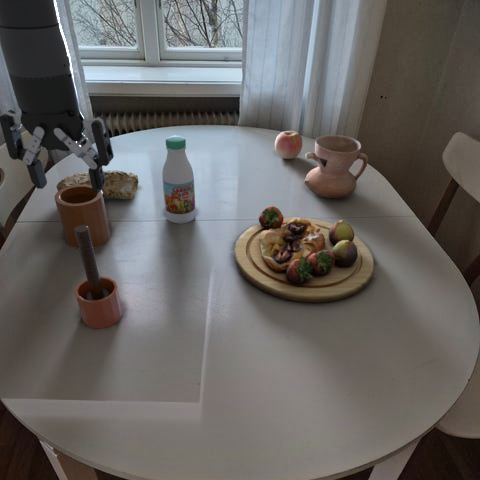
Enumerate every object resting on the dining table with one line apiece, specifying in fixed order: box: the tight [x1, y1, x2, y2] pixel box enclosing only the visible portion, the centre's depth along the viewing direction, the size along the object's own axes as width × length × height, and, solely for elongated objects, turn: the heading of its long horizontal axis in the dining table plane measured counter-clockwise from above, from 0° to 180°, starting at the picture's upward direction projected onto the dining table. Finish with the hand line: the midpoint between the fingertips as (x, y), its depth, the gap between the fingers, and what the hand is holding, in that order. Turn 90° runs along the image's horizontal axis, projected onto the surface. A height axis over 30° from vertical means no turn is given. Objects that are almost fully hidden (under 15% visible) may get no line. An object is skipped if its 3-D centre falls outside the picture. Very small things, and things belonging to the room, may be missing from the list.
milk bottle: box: [161, 135, 196, 224], centre depth 105 cm, size 8×8×20 cm
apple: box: [274, 130, 303, 160], centre depth 140 cm, size 9×9×8 cm
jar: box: [54, 184, 112, 249], centre depth 100 cm, size 10×10×11 cm
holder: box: [74, 275, 123, 329], centre depth 81 cm, size 7×8×7 cm
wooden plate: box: [233, 205, 375, 303], centre depth 97 cm, size 32×32×8 cm
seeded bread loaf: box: [55, 170, 140, 200], centre depth 116 cm, size 13×8×20 cm
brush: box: [74, 225, 109, 301], centre depth 76 cm, size 4×4×19 cm
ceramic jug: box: [304, 134, 369, 199], centre depth 120 cm, size 18×14×14 cm
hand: (70, 188), depth 65 cm, fingers open, 8 cm apart
